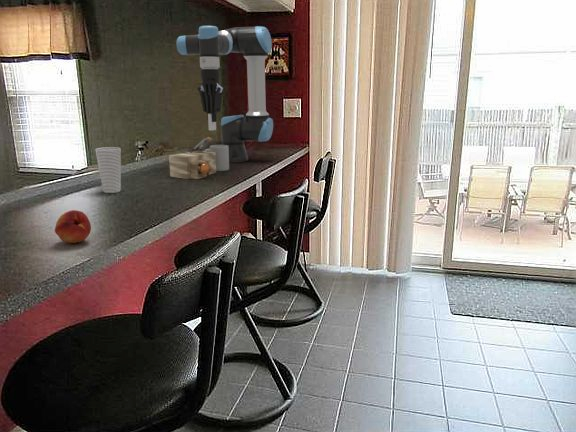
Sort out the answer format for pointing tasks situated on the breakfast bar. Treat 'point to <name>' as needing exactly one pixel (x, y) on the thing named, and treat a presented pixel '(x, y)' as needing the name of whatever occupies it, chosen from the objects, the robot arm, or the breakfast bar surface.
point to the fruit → (73, 227)
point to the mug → (220, 156)
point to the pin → (204, 168)
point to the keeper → (201, 144)
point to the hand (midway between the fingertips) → (212, 130)
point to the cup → (109, 168)
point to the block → (191, 164)
